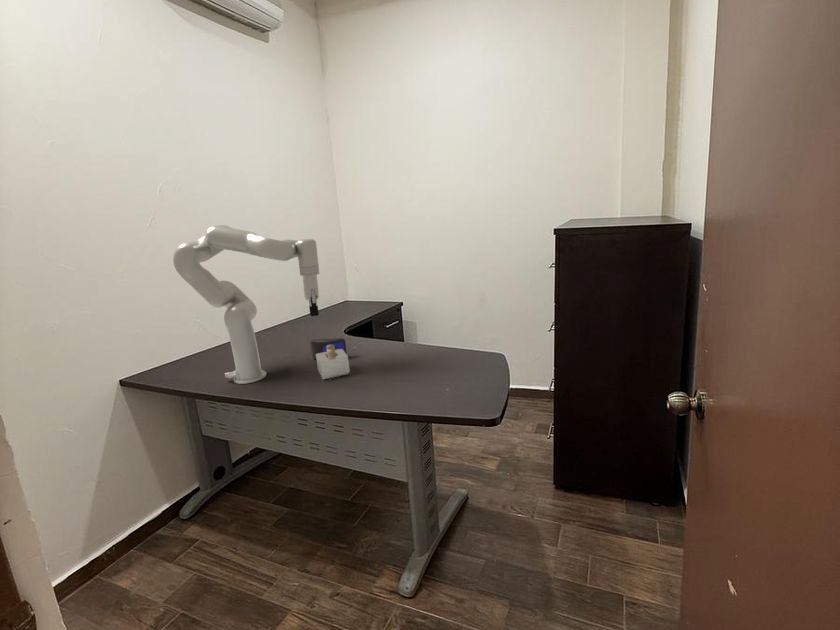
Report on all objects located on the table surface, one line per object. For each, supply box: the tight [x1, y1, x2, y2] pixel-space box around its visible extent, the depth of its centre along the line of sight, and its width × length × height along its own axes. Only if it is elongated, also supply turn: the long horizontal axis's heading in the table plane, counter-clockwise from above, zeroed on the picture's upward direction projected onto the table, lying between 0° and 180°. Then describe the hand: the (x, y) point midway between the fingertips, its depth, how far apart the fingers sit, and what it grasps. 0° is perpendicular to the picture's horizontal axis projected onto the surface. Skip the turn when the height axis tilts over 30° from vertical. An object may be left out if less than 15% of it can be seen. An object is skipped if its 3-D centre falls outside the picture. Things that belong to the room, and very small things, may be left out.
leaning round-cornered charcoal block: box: [309, 337, 348, 361], centre depth 186 cm, size 16×5×9 cm, turn 84°
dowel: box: [326, 345, 336, 357], centre depth 168 cm, size 3×3×12 cm
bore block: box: [316, 349, 351, 380], centre depth 169 cm, size 11×11×8 cm
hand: (314, 315), depth 169 cm, fingers closed
